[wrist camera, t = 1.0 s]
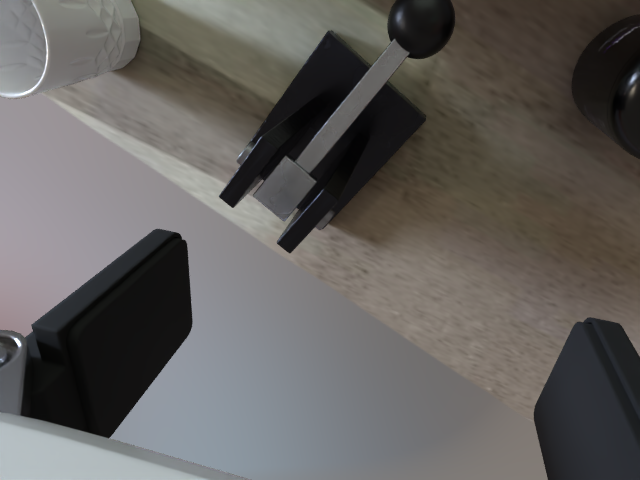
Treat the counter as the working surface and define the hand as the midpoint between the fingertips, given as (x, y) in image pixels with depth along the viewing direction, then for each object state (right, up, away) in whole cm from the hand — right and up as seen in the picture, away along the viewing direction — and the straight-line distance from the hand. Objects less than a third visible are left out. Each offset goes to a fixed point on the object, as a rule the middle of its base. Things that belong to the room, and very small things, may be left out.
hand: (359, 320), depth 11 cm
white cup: (-18, +19, +23) cm, 35 cm away
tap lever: (+1, +10, +14) cm, 17 cm away
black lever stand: (0, +10, +23) cm, 25 cm away
